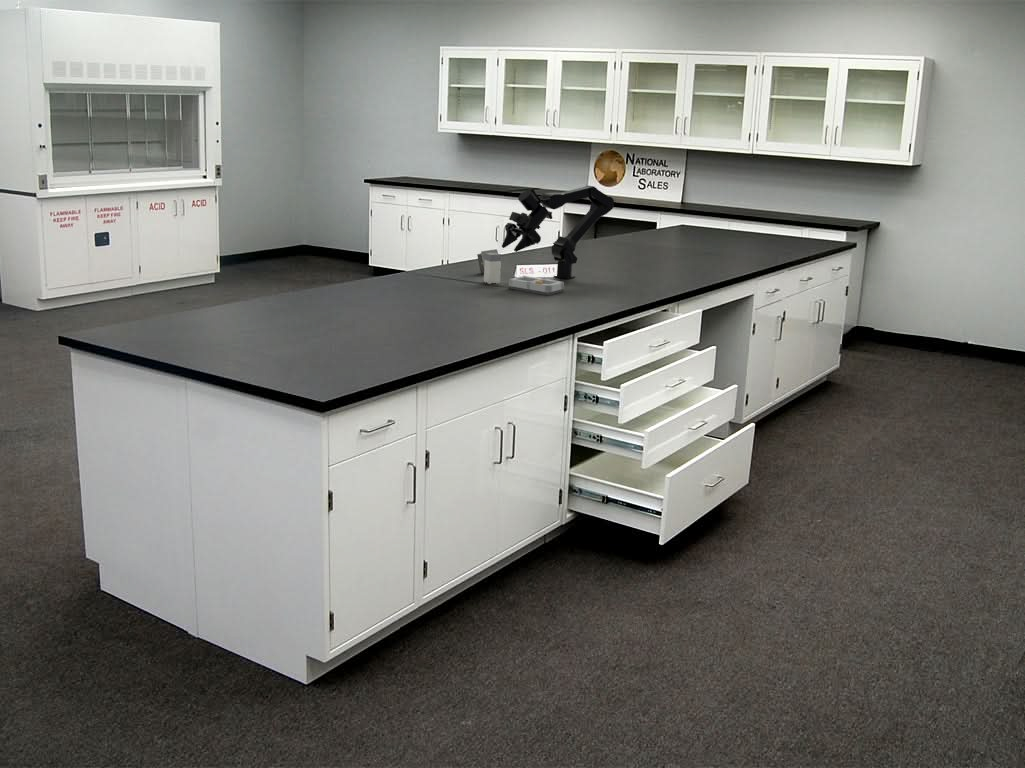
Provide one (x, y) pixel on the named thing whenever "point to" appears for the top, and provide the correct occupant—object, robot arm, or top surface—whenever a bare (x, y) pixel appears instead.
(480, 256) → the electrical switch
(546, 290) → the white rectangular frame
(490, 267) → the grey tall block
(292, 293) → the top surface
